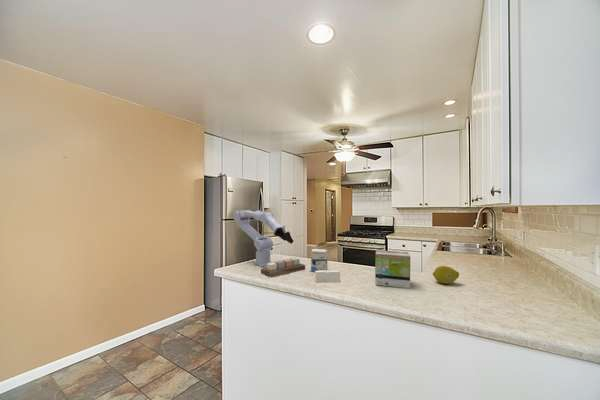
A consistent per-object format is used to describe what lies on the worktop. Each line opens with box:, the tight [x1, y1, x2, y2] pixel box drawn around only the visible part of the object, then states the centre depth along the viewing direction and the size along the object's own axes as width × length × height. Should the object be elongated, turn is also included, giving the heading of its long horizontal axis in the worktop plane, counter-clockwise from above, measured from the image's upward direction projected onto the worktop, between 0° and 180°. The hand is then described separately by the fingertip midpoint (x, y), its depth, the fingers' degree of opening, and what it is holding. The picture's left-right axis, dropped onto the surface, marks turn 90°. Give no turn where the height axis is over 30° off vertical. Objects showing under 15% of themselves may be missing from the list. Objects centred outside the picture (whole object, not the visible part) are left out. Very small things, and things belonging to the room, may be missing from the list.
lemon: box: [432, 265, 460, 285], centre depth 117 cm, size 11×8×8 cm
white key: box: [265, 261, 277, 271], centre depth 135 cm, size 4×4×3 cm
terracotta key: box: [281, 258, 292, 267], centre depth 141 cm, size 4×4×3 cm
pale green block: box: [289, 257, 301, 265], centre depth 144 cm, size 4×4×3 cm
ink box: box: [310, 248, 328, 273], centre depth 139 cm, size 8×5×12 cm, turn 73°
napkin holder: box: [314, 269, 341, 283], centre depth 123 cm, size 15×11×6 cm
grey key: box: [274, 260, 285, 269], centre depth 138 cm, size 4×4×3 cm
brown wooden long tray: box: [260, 263, 306, 278], centre depth 140 cm, size 10×23×2 cm, turn 129°
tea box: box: [374, 249, 411, 289], centre depth 117 cm, size 15×10×15 cm, turn 73°
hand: (289, 240), depth 140 cm, fingers open, 7 cm apart
